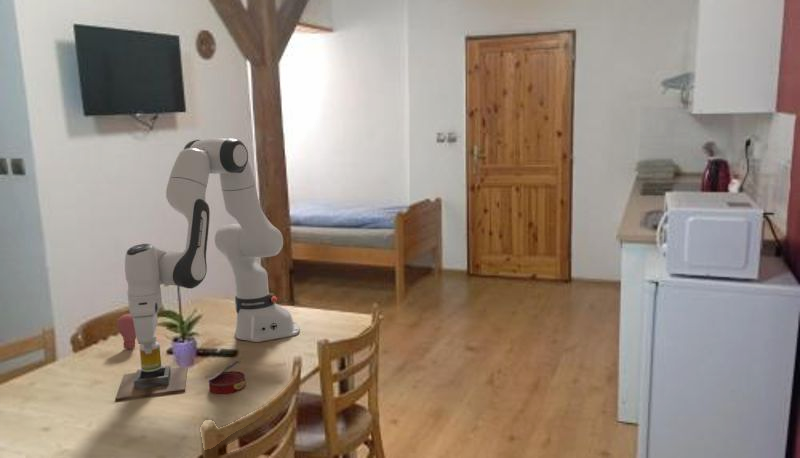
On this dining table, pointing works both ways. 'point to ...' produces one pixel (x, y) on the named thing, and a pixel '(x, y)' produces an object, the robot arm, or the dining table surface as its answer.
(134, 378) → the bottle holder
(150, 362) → the supplement bottle
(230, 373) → the canned food
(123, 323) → the light bulb
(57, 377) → the dining table surface
